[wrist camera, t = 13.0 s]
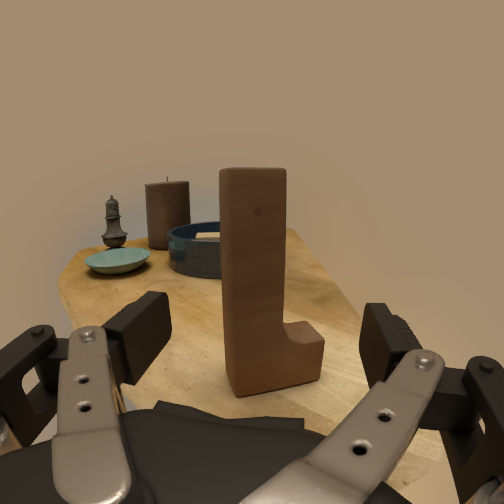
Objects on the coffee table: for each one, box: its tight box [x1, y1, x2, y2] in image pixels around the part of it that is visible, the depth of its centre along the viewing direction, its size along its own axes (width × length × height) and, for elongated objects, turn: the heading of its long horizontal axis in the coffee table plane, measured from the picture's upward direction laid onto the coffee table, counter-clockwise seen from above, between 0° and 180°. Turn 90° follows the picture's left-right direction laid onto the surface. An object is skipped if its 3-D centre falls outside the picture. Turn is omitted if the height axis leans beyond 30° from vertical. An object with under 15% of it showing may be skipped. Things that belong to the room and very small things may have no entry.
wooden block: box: [219, 168, 325, 397], centre depth 19 cm, size 7×3×15 cm, turn 107°
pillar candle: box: [145, 177, 191, 249], centre depth 62 cm, size 10×10×15 cm
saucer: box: [85, 248, 151, 274], centre depth 47 cm, size 12×12×2 cm
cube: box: [196, 232, 220, 241], centre depth 51 cm, size 4×4×4 cm
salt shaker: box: [101, 195, 127, 251], centre depth 58 cm, size 6×6×12 cm
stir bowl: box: [167, 221, 222, 279], centre depth 52 cm, size 20×20×6 cm
